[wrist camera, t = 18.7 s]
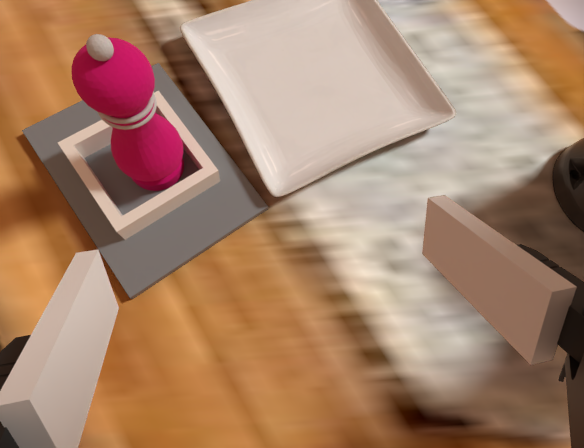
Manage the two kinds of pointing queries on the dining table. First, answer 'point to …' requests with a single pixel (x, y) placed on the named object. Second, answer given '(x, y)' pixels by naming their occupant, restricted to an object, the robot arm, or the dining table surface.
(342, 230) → the dining table surface
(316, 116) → the square plate
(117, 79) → the pepper mill
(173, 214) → the caddy
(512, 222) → the dining table surface
